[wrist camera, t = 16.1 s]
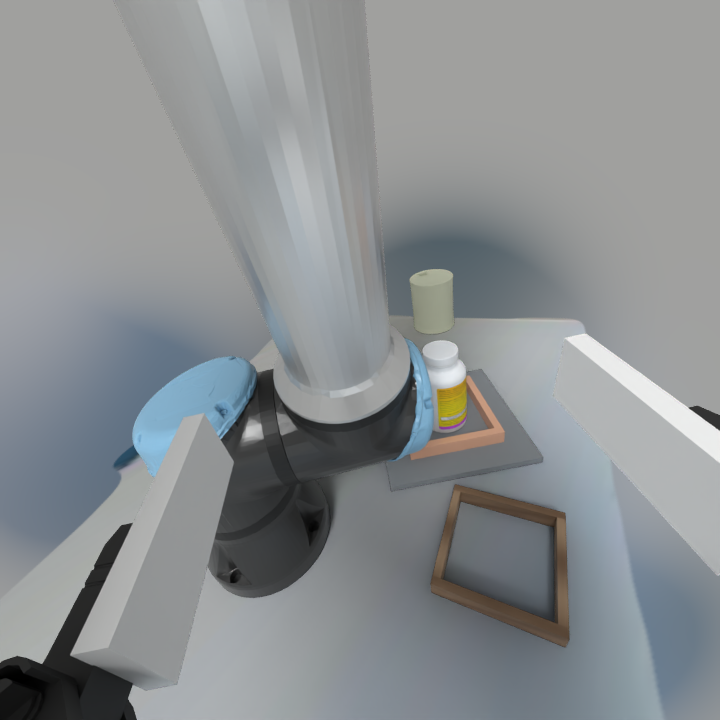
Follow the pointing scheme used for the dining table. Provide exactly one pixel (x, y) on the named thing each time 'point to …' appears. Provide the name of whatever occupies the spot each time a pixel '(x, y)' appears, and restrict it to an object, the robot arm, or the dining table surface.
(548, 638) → the collar
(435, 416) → the supplement bottle
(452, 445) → the collar
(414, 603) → the dining table surface
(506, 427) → the mat
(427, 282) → the can
